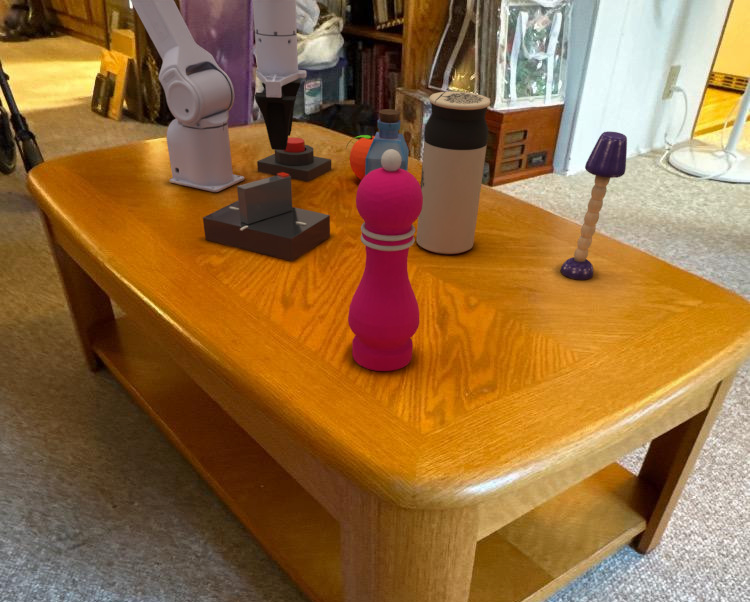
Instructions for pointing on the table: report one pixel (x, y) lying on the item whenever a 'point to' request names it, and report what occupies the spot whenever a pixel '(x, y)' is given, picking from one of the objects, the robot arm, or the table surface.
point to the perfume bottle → (387, 141)
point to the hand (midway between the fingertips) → (281, 141)
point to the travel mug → (452, 171)
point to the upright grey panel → (265, 198)
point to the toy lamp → (597, 197)
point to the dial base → (269, 231)
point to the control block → (295, 164)
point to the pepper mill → (386, 267)
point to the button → (295, 145)
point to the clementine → (360, 155)
